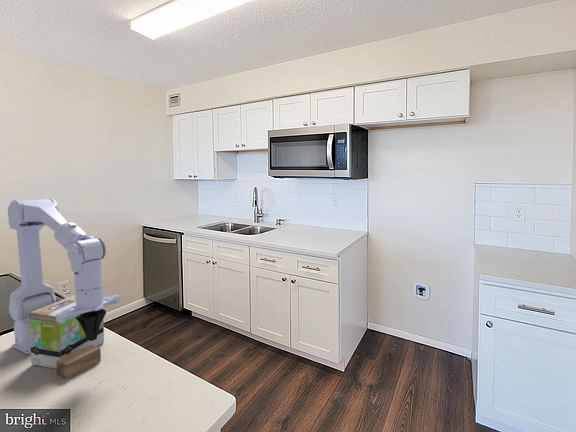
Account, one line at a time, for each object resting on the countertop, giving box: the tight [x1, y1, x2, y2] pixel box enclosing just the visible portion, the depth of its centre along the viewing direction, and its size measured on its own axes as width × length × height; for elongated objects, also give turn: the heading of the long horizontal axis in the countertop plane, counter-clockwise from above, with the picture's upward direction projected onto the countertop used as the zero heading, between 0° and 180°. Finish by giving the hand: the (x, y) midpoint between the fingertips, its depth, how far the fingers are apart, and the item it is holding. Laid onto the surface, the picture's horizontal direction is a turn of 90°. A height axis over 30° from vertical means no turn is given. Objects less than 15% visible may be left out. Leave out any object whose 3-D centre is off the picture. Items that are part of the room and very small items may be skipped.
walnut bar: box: [56, 345, 102, 380], centre depth 85 cm, size 4×9×4 cm, turn 156°
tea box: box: [29, 294, 105, 370], centre depth 91 cm, size 15×10×15 cm, turn 168°
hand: (91, 339), depth 81 cm, fingers closed
